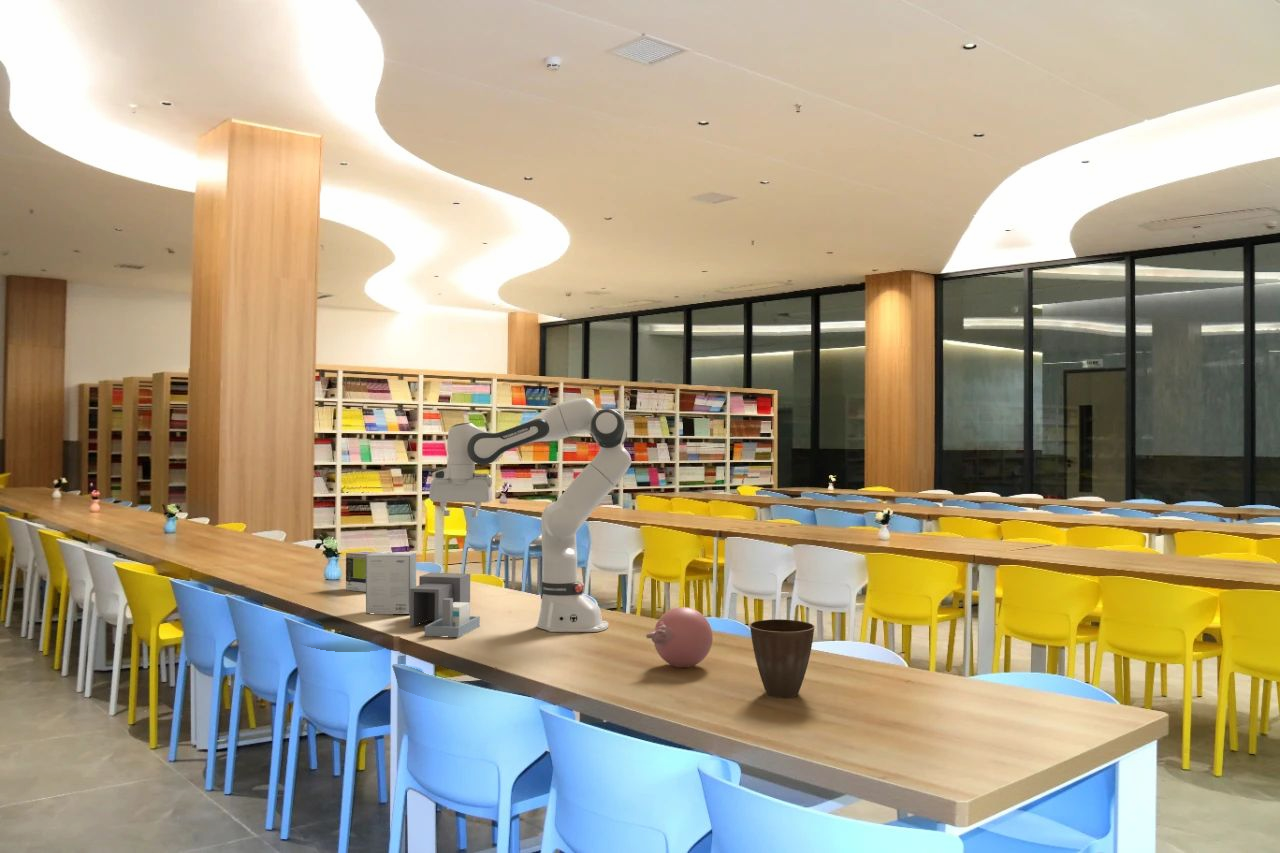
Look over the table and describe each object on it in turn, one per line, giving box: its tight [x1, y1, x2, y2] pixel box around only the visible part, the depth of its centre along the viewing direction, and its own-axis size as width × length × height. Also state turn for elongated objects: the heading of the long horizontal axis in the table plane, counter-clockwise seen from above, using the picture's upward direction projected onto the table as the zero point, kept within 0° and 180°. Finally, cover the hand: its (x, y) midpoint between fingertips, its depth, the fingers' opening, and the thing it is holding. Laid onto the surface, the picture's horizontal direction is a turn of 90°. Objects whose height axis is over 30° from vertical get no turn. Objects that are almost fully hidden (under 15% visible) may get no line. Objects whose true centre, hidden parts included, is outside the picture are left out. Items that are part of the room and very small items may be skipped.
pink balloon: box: [645, 606, 714, 668], centre depth 257 cm, size 15×20×15 cm
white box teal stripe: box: [442, 598, 471, 627], centre depth 304 cm, size 5×13×10 cm, turn 169°
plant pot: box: [749, 618, 815, 699], centre depth 231 cm, size 15×15×16 cm
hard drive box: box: [365, 552, 417, 615], centre depth 335 cm, size 16×8×20 cm, turn 84°
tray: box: [424, 615, 481, 638], centre depth 303 cm, size 11×19×3 cm, turn 170°
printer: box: [409, 572, 471, 627], centre depth 320 cm, size 14×22×14 cm, turn 170°
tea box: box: [345, 550, 390, 593], centre depth 384 cm, size 15×10×15 cm
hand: (460, 516), depth 318 cm, fingers open, 8 cm apart
